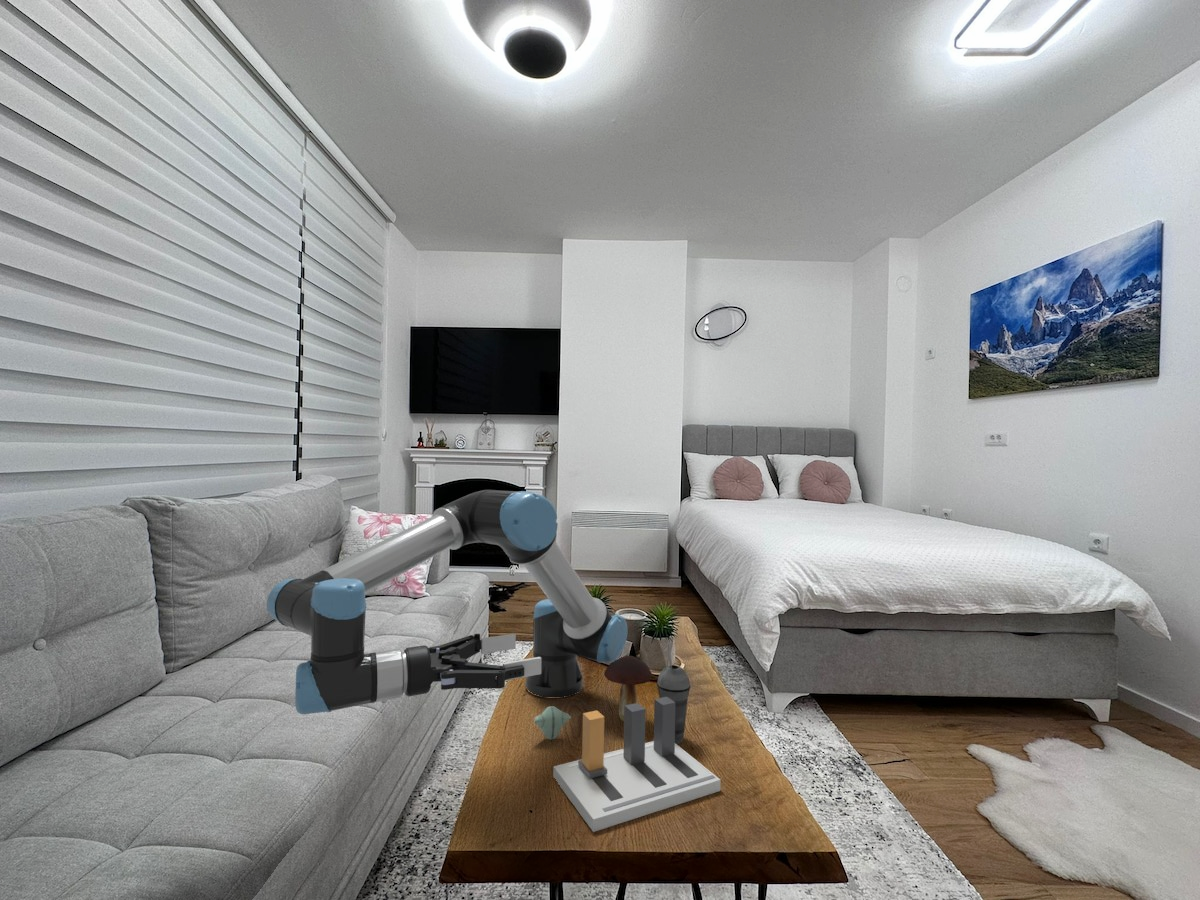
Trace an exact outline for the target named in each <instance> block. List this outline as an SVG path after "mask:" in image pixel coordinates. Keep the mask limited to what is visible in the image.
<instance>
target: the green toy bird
mask: <svg viewBox="0 0 1200 900" xmlns="http://www.w3.org/2000/svg"><path fill="white" fill-rule="evenodd" d="M571 718H572V717H571V716H570V714H568V712H563V711H562V710H560V709H558V708H557V707H556V706H553V705H550V706H547V707H546V708H545V709H544V710H543V712H541V714H539V715H536V716H535V717H534V724H535V725H536V726H537V727H538V728H539V729H540V730H541V731H542V734H543V736H545V738H546V739H547V740H554V739H556V738H557V737H558V736H559V734H560V733H561V730H562V728H563V727H564V726H565V724H566V723H567V722H568V721H570V720H571Z"/></svg>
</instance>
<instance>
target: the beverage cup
mask: <svg viewBox="0 0 1200 900" xmlns="http://www.w3.org/2000/svg"><path fill="white" fill-rule="evenodd" d="M667 653H668V662H669V663H668V664H669V665H667V666H665V667H664V668H663V669H662V670H661V671H660V673H659V675H658V677H657V683H656V686H657V690H658V695H659V698H663V697H668V698H670V699H671V700H673V701H674V702H675V743H676V744H677V745H678V744H681V743H683V741H684V735H685V730H686V729H685V728H686V719H687V708H688V700H689V696H690V689H691V684H690V683H691V682H690V678H689V676H688V673H687V672H686V671H685V669H683V668H682V666H681V667H680V666H679V665H676V664H673V663H672V661H673V660H672V654H671V653H672V652H671V645H670V644H668V645H667Z"/></svg>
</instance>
